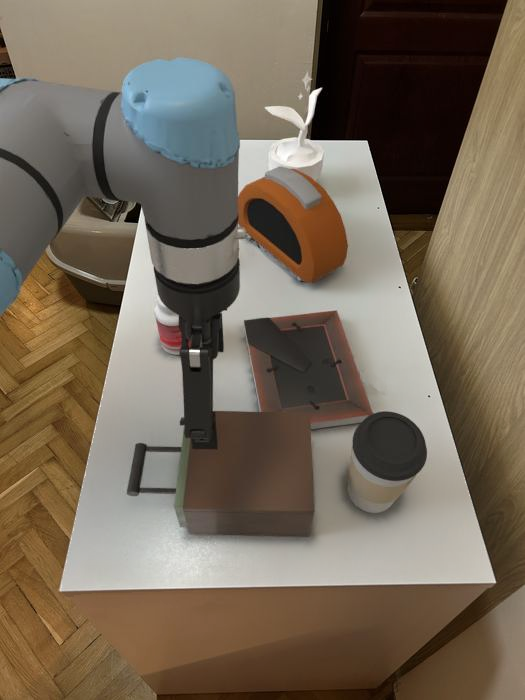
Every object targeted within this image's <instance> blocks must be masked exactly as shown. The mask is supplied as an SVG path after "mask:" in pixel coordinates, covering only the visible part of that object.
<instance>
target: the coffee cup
mask: <svg viewBox="0 0 525 700" xmlns="http://www.w3.org/2000/svg"><path fill="white" fill-rule="evenodd" d="M427 458H428V449H427V443H426V439H425V436H424V434H423V432H422V430H421V429H420V428H419V426H418V425H417V423H415V422H414V421H413V420H412V419H410V418H409V417H408V416H406V415H404V414H401V413H398V412H395V411H389V410H387V411H385V410H384V411H377V412H374V413H373V414H372V415H370V416H368V417H367V418H365V419H364V420H363V421H362V422H360V423H358V425H357V427H356V428H355V430H354V432H353V435H352V442H351V449H350V459H349V467H348V479H347V493H348V496H349V498H350V500H351V502H352V503H353V505H355V506H356V507H357V508H358V509H360V510H361V511H364V512H366V513H369V514H378V513H383V512H385V511H387V510H388V509H390V507H391V506H392V505H393V504H394V502H395V501H396V500H397V499H399V497H400V496H401V495H402V494H403V493H404V492H405V490H406V489H407V488H408V486H409V485H410V484H411V483H412V482H413V481H414V479H415V478H416V477H417V475H418V474H419V473H420V472H421V471H422V470H423V468H424V467H425V465H426V462H427Z"/></svg>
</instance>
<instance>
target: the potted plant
mask: <svg viewBox="0 0 525 700" xmlns="http://www.w3.org/2000/svg"><path fill="white" fill-rule="evenodd" d="M312 80H313V78H311V77H310V76H309V70H308V69H306V73H305V76H304V77H303V78H302V79H301V81H302V82H303V84H304V89H305V90H306V92H307V94H308V93H309V90H311V87H310V84H309V82H311V81H312ZM322 90H323V87H320V88H317V89H314V90H312V91H311V93H310V95H308V107H307V108H308V109H307V117H306V120H305V122H304V120H303V117H302V116H301V115H300V114H299V113H298V112H297V111H296V110H295V109H294V108H293V107H290V106H284V105H272V106H264V109H265V110H266V111H267V112H268V113H270V114H271V115H272V116H274V117H277V118H280V119H283V120H286V121H288V122H290V123H292V124H293V125H294V126H295V127H297V128H298V129H300V130H299V133H298V136H296V137H295V136H293V137H288V138H287V137H286V138H281V139H279V140H277V141H275V142H274V143H271V146H270V148H269V150H268V162H267V163H268V165H267V166H268V167H267V169H268V171H270V170H273V169H275V168H277V167H279V166H280V167H285V168H288V169H296V170H298V171H300V172H302V173H304V174H306V175H308V176H309V177H311V178H312V179H313V180H314V181H316V180H317V179H318V178H320V176H321V174H322V171H323V165H324V156H325V151H324V149H323V148H322V147H321V145H320V144H319V143H317V142H315V141H313V140H311V139H310V138H306V137H307V135H308V133H309V132H308V131H309V129H308V126H309V125H310V123H311V122H312V119H313V118H314V115H315V110H316V109H315V108H316V104H317V99H318V96H319V94H320V93H321V91H322ZM303 97H304V95H303V94H302V92H300V94H299V95H298V96H297V98H299V101H301V99H302V98H303Z"/></svg>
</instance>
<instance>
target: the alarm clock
mask: <svg viewBox="0 0 525 700" xmlns="http://www.w3.org/2000/svg"><path fill="white" fill-rule="evenodd" d="M326 190H327V189H325V188H324V187H323V186H322V185H320V184H319V183H318V182H317V181H316V180H313V179H312V178H311V177H309V176H308V175H306V174H304V173H302V172H300V171H298V170H296V169H288V168H285V167H280V166H279V167H277V168H275V169H273V170H270V171H269V170H268V171H266V172H264V176H263V177H261V178H258V179H257V180H254V181H251V182H250V183H247V184H245V186H244V187H243V189H241V190H240V192H239V193H238V226H239V227H244V228H245V229H246V231H247V232H246V236H247V239H249V240H252V239H253V240H254V241H255V242H256V243H258V245H260V246H261V247H262V248H263V249H265V250H266V251H267V252H268V253H269V254H270V255H272V256H273V257H274V258H275V259H277V261H279V262H280V263H281V264H283V266H284V267H286V268H287V269H288V270H289V271H291V272H292V273H293V274H295V276H296V279H297V281H299V282H302V281H303V282H304V283H305V284H312V283H315V282H316V281H318V280H320V279H321V278H323V277H325V276H327V275H328V274H330V273H332V272H334V271H336V270H337V269H339V268H341V267H342V266H344V264H345V262H346V259H347V257H348V251H349V243H348V237H347V231H346V227H345V224H344V220H343V217H342V215H341V213H340V211H339V209H338V207H337V205H336V203H335V201H334V200H333V199H332V198H331V196H330V195H329V194H328V191H326Z"/></svg>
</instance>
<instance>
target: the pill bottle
mask: <svg viewBox="0 0 525 700" xmlns="http://www.w3.org/2000/svg"><path fill="white" fill-rule="evenodd" d="M155 298H156V305H155V307H154V317H155V318H154V319H155V322H156V327H157V332H158V336H159V341H160V345H161V348H162V349H163V350H164V351H165V352H166V353H168V354H171V355H177V356H180V355H179V352H180V348H181V346H182V341H181V331H180V330H179V315H178V314H176V313H174V312H172V311H171V310H169V309H168V308H167V307H166V306H165V305H164V304H163V303H162V301H161V299H160V297H159V295H158V293H157V294H156V297H155ZM190 344H191V341H189V340H188V346H190Z"/></svg>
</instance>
